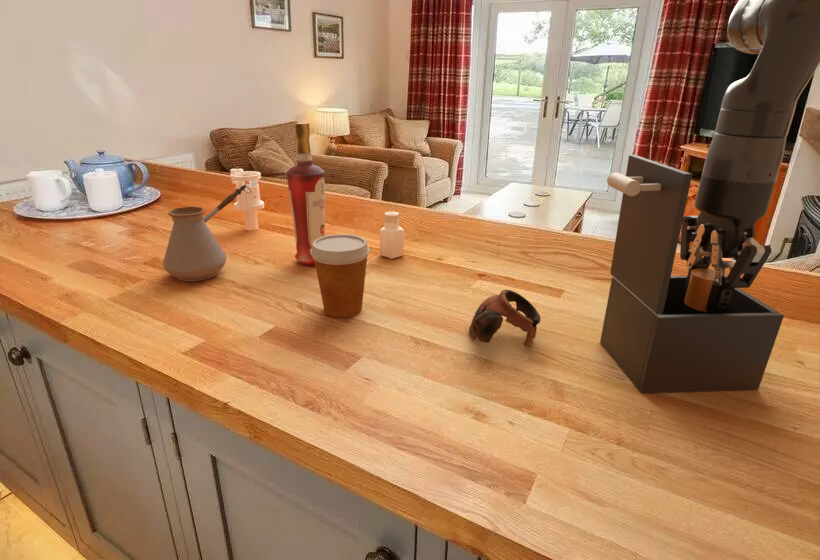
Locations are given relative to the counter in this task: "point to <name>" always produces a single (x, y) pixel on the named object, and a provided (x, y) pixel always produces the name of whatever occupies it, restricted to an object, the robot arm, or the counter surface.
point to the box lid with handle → (648, 227)
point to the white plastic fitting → (248, 196)
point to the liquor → (306, 197)
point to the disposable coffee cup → (341, 272)
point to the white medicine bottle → (391, 236)
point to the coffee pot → (194, 243)
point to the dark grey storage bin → (689, 341)
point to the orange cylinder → (699, 288)
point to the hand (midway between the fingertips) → (703, 302)
